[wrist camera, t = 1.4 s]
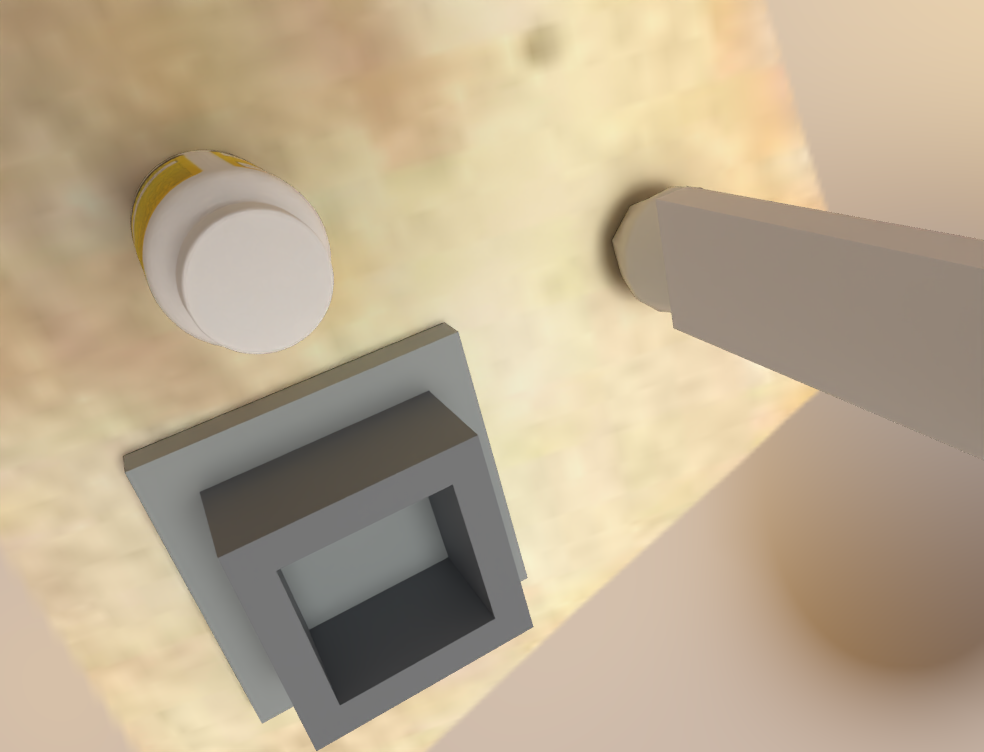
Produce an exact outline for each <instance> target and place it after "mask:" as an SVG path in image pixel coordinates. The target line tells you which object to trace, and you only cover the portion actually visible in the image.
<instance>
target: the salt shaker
mask: <svg viewBox="0 0 984 752" xmlns="http://www.w3.org/2000/svg"><path fill="white" fill-rule="evenodd" d="M682 188H684V187H669V188H668V189H666V190H664V191H662V192H660V193H658V194H656V195H654V196H652V197H650V198H648V199H646V200H644V201H641V202H639V203H636V204H634V205H632V206H630V207H629V209H628V211H627V213H626V215H625V217H624V218H623V220H622V222H621V224H620V226H619V228H618V230H617V232H616V234H615V236H614V237H613V239H612V243H613V247H614V251H615V254H616V258H617V262H618V266H619V269H620V273H621V275H622V277H623V279H624V280H625V282H626V284H627V285H628V287H629V289H630V290H631V292H632V294H633V295H634V297H636V298H637V299H638V300H640V301H641V302H643V303H645V304H647V305H648V306H650V307H652V308H654V309H656V310H658V311H660V312H671V306H670V299H669V292H668V285H667V278H666V270H665V263H664V256H663V249H662V242H661V235H660V227H659V220H658V213H657V206H656V199H657V198H659V197H662V196H664V195H667V194H669V193H672V192H674V191H677V190H679V189H682ZM694 188H696V187H694ZM700 189H703V188H700Z"/></svg>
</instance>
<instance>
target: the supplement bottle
mask: <svg viewBox="0 0 984 752" xmlns="http://www.w3.org/2000/svg"><path fill="white" fill-rule="evenodd" d="M131 232H132V238H133V242H134V245H135V248H136V252H137V255H138V258H139V261H140V264H141V266H142V269H143V271H144V274H145V277H146V280H147V283H148V285H149V288H150V290H151V292H152V294H153V297H154V298H155V300H156V302H157V303H158V305H159V306H160V308H161V309H162V310H163V312H164V313H165V314H166V315H167V316H168V317H169V318H170V319H171V320H172V321H173V322H174V323H175V324H176V325H177V326H178V327H180V328H181V329H182V330H184V331H185V332H187V333H188V334H190V335H192V336H193V337H195V338H198V339H200V340H202V341H205V342H208V343H211V344H214V345H218V346H223V347H225V348H227V349H230V350H233V351H236V352H241V353H248V354H266V353H272V352H277V351H281V350H284V349H287V348H289V347H291V346H293V345H295V344H297V343H299V342H300V341H302V340H303V339H304V338H306V337H307V336H308V335H309V334H310V333H311V332H312V331H313V330H314V329H315V328H316V327H317V326H318V325H319V323H320V322H321V321H322V319H323V317H324V316H325V314H326V312H327V310H328V307H329V305H330V302H331V298H332V293H333V286H334V274H333V269H332V264H331V251H330V244H329V241H328V237H327V234H326V231H325V227H324V225H323V223H322V221H321V219H320V217H319V215H318V214H317V212H316V210H315V209H314V208H313V206H312V205H311V204H310V203H309V201H308V200H307V199H306V198H305V197H304V196H303V195H302V194H301V193H300V192H298V191H297V190H296V189H295V188H293V187H292V186H291V185H289V184H288V183H286V182H285V181H283V180H282V179H280V178H278V177H276V176H274V175H272V174H270V173H268V172H266V171H264V170H263V169H261V168H259V167H257V166H255V165H253V164H251V163H249V162H248V161H246V160H243V159H241V158H239V157H236V156H234V155H231V154H228V153H224V152H219V151H212V150H196V151H189V152H185V153H181V154H178V155H176V156H173V157H171V158H169V159H167V160H165V161H164V162H162V163H161V164H159V165H158V166H157V167H155V168H154V169H153V170H152V171H151V172H150V173H149V174H148V175H147V176H146V177H145V179H144V180H143V182H142V183H141V185H140V187H139V188H138V190H137V193H136V195H135V198H134V201H133V205H132V210H131Z"/></svg>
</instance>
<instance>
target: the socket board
mask: <svg viewBox="0 0 984 752" xmlns="http://www.w3.org/2000/svg"><path fill="white" fill-rule="evenodd" d="M123 458H124V469H125V474H126V476H127V477H128V479H129V481H130V483H131V485H132V487H133V488H134V490H135V492H136V494H137V496H138V497H139V499H140V501H141V503H142V505H143V507H144V508H145V510H146V512H147V514H148V516H149V518H150V519H151V521H152V523H153V525H154V527H155V529H156V530H157V532H158V534H159V536H160V538H161V540H162V541H163V543H164V545H165V547H166V549H167V550H168V552H169V554H170V556H171V558H172V560H173V561H174V563H175V565H176V567H177V569H178V571H179V572H180V574H181V576H182V578H183V580H184V582H185V583H186V585H187V587H188V589H189V591H190V593H191V594H192V596H193V598H194V600H195V602H196V604H197V605H198V607H199V609H200V611H201V613H202V614H203V616H204V618H205V620H206V622H207V624H208V625H209V627H210V629H211V631H212V633H213V635H214V636H215V638H216V640H217V642H218V644H219V646H220V647H221V649H222V651H223V653H224V655H225V657H226V658H227V660H228V662H229V664H230V666H231V668H232V669H233V671H234V673H235V675H236V677H237V678H238V680H239V682H240V684H241V686H242V688H243V689H244V691H245V693H246V695H247V697H248V699H249V700H250V702H251V704H252V706H253V708H254V710H255V711H256V713H257V715H258V717H259V719H260V721H261V722H262V723H264V722H266V721H268V720H269V719H271V718H273V717H275V716H277V715H279V714H280V713H282V712H284V711H286V710H288V709H290V708H291V707H293V706H294V708H295V710H296V712H297V714H298V716H299V718H300V720H301V722H302V724H303V726H304V728H305V730H306V732H307V734H308V736H309V738H310V739H311V741H312V743H313V745H314V747H315V749H316V751H318V750H320V749H321V748H323V747H325V746H327V745H328V744H330V743H332V742H334V741H335V740H337V739H339V738H340V737H342V736H344V735H346V734H347V733H349V732H351V731H353V730H354V729H356V728H358V727H360V726H361V725H363V724H365V723H367V722H368V721H370V720H372V719H374V718H375V717H377V716H379V715H381V714H382V713H384V712H386V711H388V710H389V709H391V708H393V707H395V706H396V705H398V704H400V703H402V702H403V701H405V700H407V699H409V698H410V697H412V696H414V695H416V694H417V693H419V692H421V691H422V690H424V689H426V688H428V687H429V686H431V685H433V684H435V683H436V682H438V681H440V680H442V679H443V678H445V677H447V676H449V675H450V674H452V673H454V672H456V671H457V670H459V669H461V668H463V667H464V666H466V665H468V664H470V663H471V662H473V661H475V660H477V659H478V658H480V657H482V656H484V655H485V654H487V653H489V652H491V651H492V650H494V649H496V648H498V647H499V646H501V645H503V644H504V643H506V642H508V641H510V640H511V639H513V638H515V637H517V636H518V635H520V634H522V633H524V632H525V631H527V630H529V629H531V628H532V627H533V624H532V621H531V617H530V614H529V610H528V607H527V603H526V600H525V596H524V593H523V589H522V586H521V581H523V580H524V579H526V578H527V574H526V571H525V567H524V564H523V560H522V557H521V553H520V549H519V546H518V542H517V539H516V535H515V532H514V528H513V525H512V521H511V518H510V514H509V510H508V507H507V503H506V500H505V496H504V493H503V489H502V486H501V482H500V478H499V475H498V471H497V468H496V464H495V461H494V457H493V454H492V450H491V446H490V443H489V439H488V436H487V432H486V429H485V425H484V422H483V418H482V414H481V411H480V407H479V404H478V400H477V397H476V393H475V390H474V386H473V382H472V379H471V375H470V372H469V368H468V365H467V361H466V358H465V354H464V350H463V347H462V343H461V340H460V336H459V333H458V331H456V330H455V329H453V328H452V327H450V326H449V325H447V324H446V323H442V324H440V325H437V326H435V327H433V328H430V329H428V330H425V331H423V332H421V333H418V334H416V335H413V336H411V337H409V338H406V339H404V340H401V341H399V342H397V343H394V344H392V345H389V346H387V347H385V348H382V349H380V350H377V351H375V352H373V353H370V354H368V355H365V356H363V357H361V358H358V359H356V360H353V361H351V362H349V363H346V364H344V365H341V366H339V367H336V368H334V369H332V370H329V371H327V372H324V373H322V374H320V375H317V376H315V377H312V378H310V379H308V380H305V381H303V382H300V383H298V384H296V385H293V386H291V387H288V388H286V389H284V390H281V391H279V392H276V393H274V394H272V395H269V396H267V397H264V398H262V399H260V400H257V401H255V402H252V403H250V404H248V405H245V406H243V407H240V408H238V409H236V410H233V411H231V412H228V413H226V414H223V415H221V416H219V417H216V418H214V419H211V420H209V421H207V422H204V423H202V424H199V425H197V426H195V427H192V428H190V429H187V430H185V431H183V432H180V433H178V434H175V435H173V436H171V437H168V438H166V439H163V440H161V441H159V442H156V443H154V444H151V445H149V446H147V447H144V448H142V449H139V450H137V451H135V452H132V453H130V454H127V455H125V456H123Z"/></svg>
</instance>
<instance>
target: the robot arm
mask: <svg viewBox="0 0 984 752" xmlns="http://www.w3.org/2000/svg"><path fill="white" fill-rule="evenodd" d="M656 206H657V213H658V220H659V227H660V235H661V242H662V249H663V256H664V263H665V270H666V278H667V285H668V292H669V299H670V306H671V313H672V321H673V328H674V329H677V330H679V331H682V332H684V333H686V334H689V335H691V336H693V337H696V338H698V339H700V340H703V341H705V342H707V343H710V344H712V345H714V346H717V347H719V348H721V349H724V350H726V351H728V352H731V353H733V354H735V355H738V356H740V357H743V358H745V359H747V360H750V361H752V362H754V363H757V364H759V365H761V366H764V367H766V368H768V369H771V370H773V371H775V372H778V373H780V374H782V375H785V376H787V377H789V378H792V379H794V380H796V381H799V382H801V383H804V384H806V385H808V386H811V387H813V388H815V389H818V390H820V391H822V392H825V393H827V394H830V395H832V396H834V397H836V398H839V399H841V400H844V401H846V402H849V403H850V404H853V405H855V406H857V407H860V408H862V409H865V410H867V411H869V412H872V413H874V414H876V415H879V416H881V417H883V418H886V419H888V420H890V421H893V422H895V423H897V424H900V425H902V426H904V427H907V428H909V429H912V430H914V431H916V432H919V433H921V434H923V435H926V436H928V437H930V438H933V439H935V440H937V441H940V442H942V443H944V444H947V445H949V446H951V447H954V448H956V449H958V450H961V451H963V452H966V453H968V454H970V455H973V456H975V457H977V458H980V459H982V460H984V240H981V239H976V238H971V237H965V236H960V235H954V234H949V233H943V232H937V231H931V230H926V229H921V228H915V227H910V226H904V225H899V224H893V223H888V222H882V221H877V220H871V219H866V218H860V217H855V216H849V215H843V214H838V213H832V212H827V211H821V210H816V209H810V208H805V207H799V206H794V205H788V204H783V203H777V202H772V201H766V200H761V199H755V198H750V197H744V196H738V195H733V194H727V193H722V192H716V191H711V190H705V189H700V188H694V187H689V186H687V187H684V188H682V189H679V190H677V191H674V192H672V193H669V194H667V195H664V196H662V197H659V198H657V199H656Z"/></svg>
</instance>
